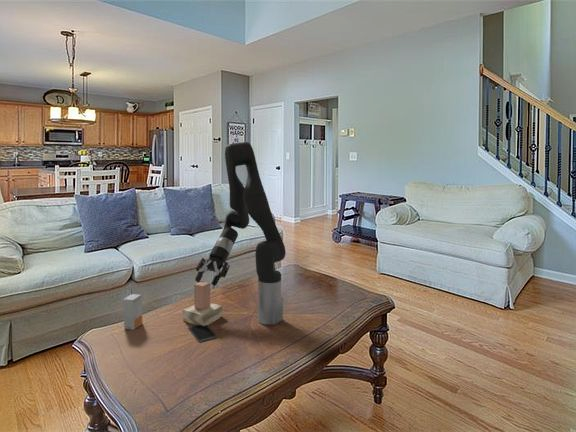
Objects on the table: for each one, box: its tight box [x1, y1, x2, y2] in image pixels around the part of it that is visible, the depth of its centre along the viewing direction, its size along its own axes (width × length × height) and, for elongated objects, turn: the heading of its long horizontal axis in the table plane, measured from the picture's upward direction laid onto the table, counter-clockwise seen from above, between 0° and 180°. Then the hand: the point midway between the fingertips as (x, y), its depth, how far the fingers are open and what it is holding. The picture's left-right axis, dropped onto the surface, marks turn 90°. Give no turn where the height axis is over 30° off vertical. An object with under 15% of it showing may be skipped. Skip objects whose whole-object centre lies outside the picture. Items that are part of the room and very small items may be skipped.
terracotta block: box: [193, 280, 211, 310], centre depth 153 cm, size 4×4×10 cm
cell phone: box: [187, 324, 218, 343], centre depth 142 cm, size 7×14×1 cm, turn 32°
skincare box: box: [122, 293, 143, 331], centre depth 146 cm, size 6×4×12 cm
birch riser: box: [182, 302, 223, 326], centre depth 154 cm, size 11×11×5 cm
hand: (204, 283), depth 154 cm, fingers open, 8 cm apart
